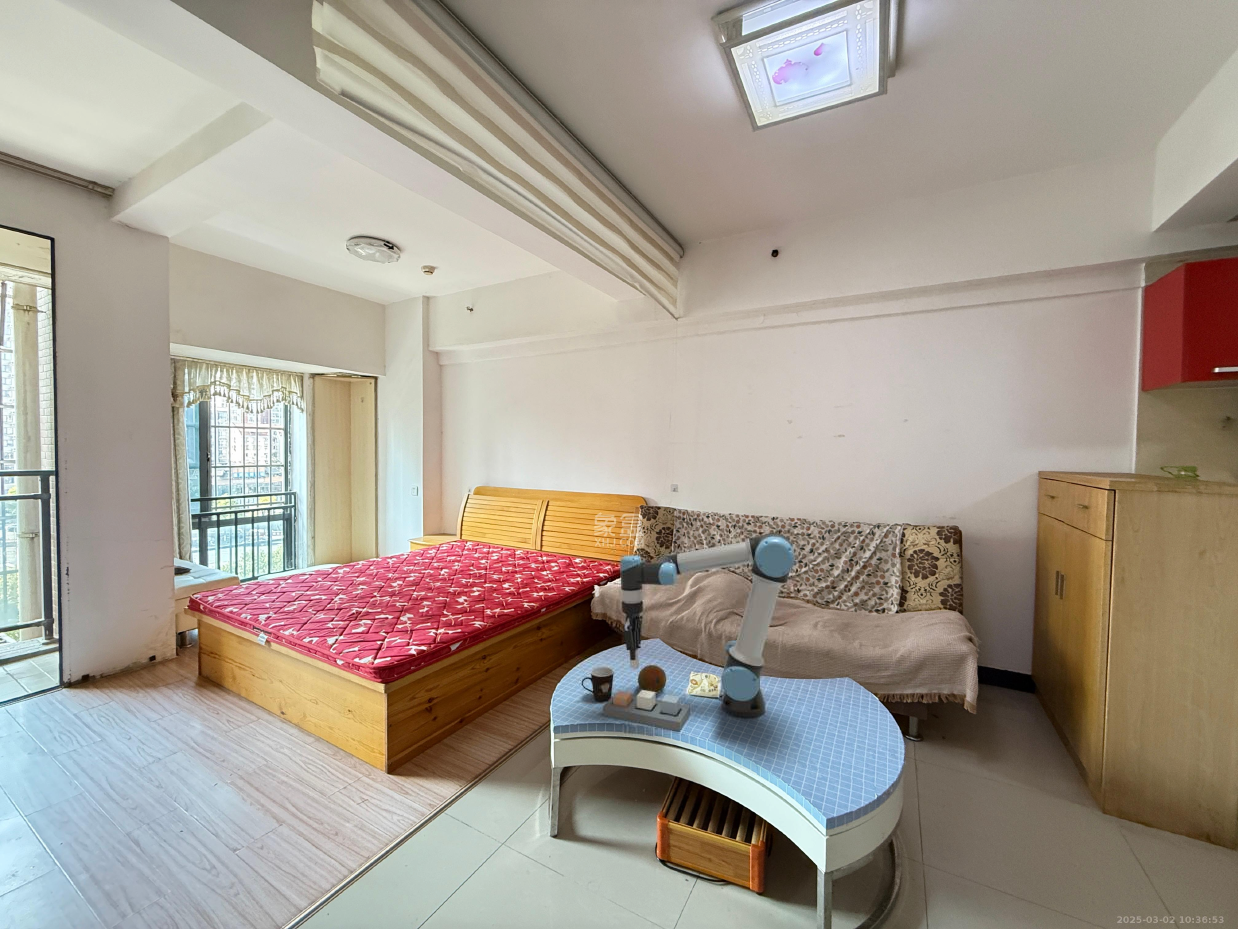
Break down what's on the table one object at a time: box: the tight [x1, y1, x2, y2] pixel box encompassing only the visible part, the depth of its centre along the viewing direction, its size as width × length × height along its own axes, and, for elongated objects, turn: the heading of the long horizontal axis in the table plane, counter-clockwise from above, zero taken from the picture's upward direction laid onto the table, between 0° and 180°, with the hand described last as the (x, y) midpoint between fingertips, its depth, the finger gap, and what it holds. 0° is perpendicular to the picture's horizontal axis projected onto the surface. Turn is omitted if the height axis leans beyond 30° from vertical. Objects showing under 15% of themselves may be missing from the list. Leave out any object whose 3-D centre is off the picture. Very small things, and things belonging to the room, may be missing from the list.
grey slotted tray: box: [602, 691, 691, 732], centre depth 175 cm, size 28×12×3 cm, turn 66°
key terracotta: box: [612, 690, 633, 707], centre depth 178 cm, size 5×5×4 cm
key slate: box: [661, 693, 681, 715], centre depth 171 cm, size 5×5×4 cm
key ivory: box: [636, 689, 657, 711], centre depth 175 cm, size 5×5×4 cm
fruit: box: [637, 664, 667, 694], centre depth 193 cm, size 12×13×10 cm
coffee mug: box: [581, 666, 615, 703], centre depth 188 cm, size 12×9×10 cm
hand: (634, 667), depth 177 cm, fingers closed
